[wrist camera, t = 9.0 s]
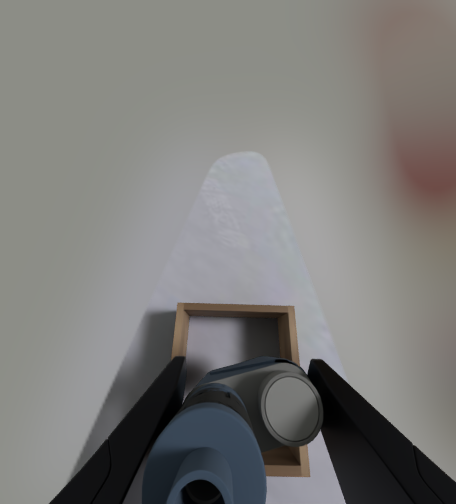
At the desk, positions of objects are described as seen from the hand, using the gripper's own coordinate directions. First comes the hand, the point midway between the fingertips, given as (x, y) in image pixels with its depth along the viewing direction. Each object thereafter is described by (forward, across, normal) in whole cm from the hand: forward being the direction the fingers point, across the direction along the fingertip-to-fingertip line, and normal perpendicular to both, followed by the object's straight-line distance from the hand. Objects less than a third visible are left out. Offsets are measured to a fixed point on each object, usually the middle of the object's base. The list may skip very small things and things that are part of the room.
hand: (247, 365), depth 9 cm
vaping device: (+4, 0, +6) cm, 7 cm away
